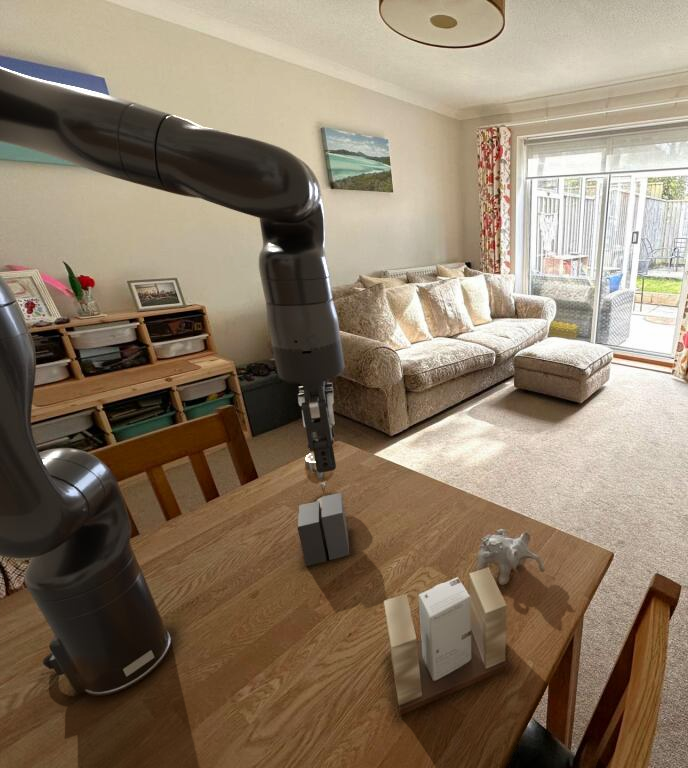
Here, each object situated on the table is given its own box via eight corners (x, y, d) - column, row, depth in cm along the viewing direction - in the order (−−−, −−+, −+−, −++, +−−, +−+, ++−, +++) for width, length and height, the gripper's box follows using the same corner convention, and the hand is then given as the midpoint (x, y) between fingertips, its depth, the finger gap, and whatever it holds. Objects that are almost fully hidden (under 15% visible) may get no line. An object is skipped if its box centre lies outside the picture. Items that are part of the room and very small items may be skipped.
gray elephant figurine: (481, 550, 79) (480, 518, 76) (542, 553, 78) (544, 522, 76) (474, 590, 70) (474, 556, 67) (543, 594, 70) (545, 560, 67)
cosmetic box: (433, 683, 55) (428, 620, 50) (421, 656, 58) (415, 594, 54) (473, 659, 58) (472, 597, 53) (459, 634, 61) (457, 574, 57)
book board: (400, 715, 52) (391, 651, 48) (391, 658, 59) (383, 597, 54) (506, 669, 58) (508, 608, 53) (487, 622, 65) (487, 564, 60)
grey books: (306, 566, 74) (296, 523, 70) (307, 543, 80) (298, 501, 76) (349, 554, 77) (342, 512, 73) (347, 532, 82) (341, 492, 79)
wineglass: (345, 499, 92) (337, 454, 88) (322, 513, 88) (313, 466, 83) (329, 490, 95) (321, 446, 91) (306, 504, 90) (297, 458, 86)
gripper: (277, 326, 53) (298, 434, 59) (263, 358, 41) (292, 489, 47) (338, 322, 56) (352, 426, 62) (342, 351, 44) (360, 476, 50)
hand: (326, 453), depth 55 cm, fingers open, 8 cm apart
